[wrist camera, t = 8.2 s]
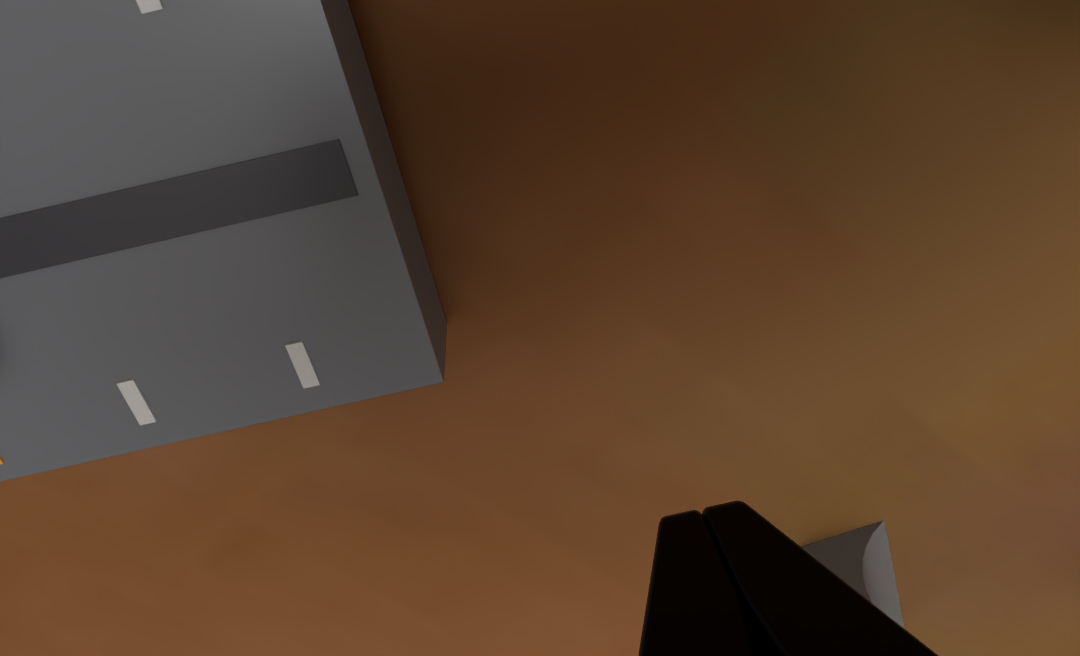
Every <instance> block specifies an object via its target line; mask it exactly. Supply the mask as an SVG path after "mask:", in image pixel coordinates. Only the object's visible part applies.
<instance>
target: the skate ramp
mask: <svg viewBox="0 0 1080 656" xmlns="http://www.w3.org/2000/svg"><path fill="white" fill-rule="evenodd" d="M801 548H803V549H804V550H805V551H806V552H808V553H809V554H810V555H812V556H813V557H814V558H815V559H817V560H818V561H819V562H820V563H822V564H823V565H824V566H825V567H827V568H828V569H829V570H831V571H832V572H833V573H834V574H836V575H837V576H838V577H839V578H841V579H842V580H843V581H844V582H846V583H847V584H848V585H849V586H851V587H852V588H853V589H855V590H856V591H857V592H858V593H860V594H861V595H862V596H863V597H865V598H866V599H867V600H868V601H870V602H871V603H872V604H874V605H875V606H876V607H877V608H879V609H880V610H881V611H882V612H884V613H885V614H886V615H887V616H889V617H890V618H891V619H892V620H894V621H895V622H896V623H898V624H899V625H900V626H901V627H903V628H904V625H903V619H902V614H901V608H900V603H899V597H898V592H897V586H896V581H895V575H894V570H893V564H892V559H891V553H890V548H889V542H888V537H887V531H886V526H885V520H884V521H881V522H878V523H875V524H872V525H868V526H865V527H862V528H859V529H856V530H853V531H849V532H846V533H843V534H840V535H837V536H834V537H830V538H827V539H824V540H821V541H818V542H815V543H811V544H808V545H805V546H802V547H801Z"/></svg>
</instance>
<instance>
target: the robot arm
mask: <svg viewBox="0 0 1080 656" xmlns="http://www.w3.org/2000/svg"><path fill="white" fill-rule="evenodd" d="M639 656H938V655H937V654H935V653H934V652H933V651H932V650H930V649H929V648H928V647H927V646H925V645H924V644H923V643H922V642H920V641H919V640H918V639H917V638H915V637H914V636H913V635H911V634H910V633H909V632H908V631H906V630H905V629H904V628H903V627H901V626H900V625H899V624H898V623H896V622H895V621H894V620H892V619H891V618H890V617H889V616H887V615H886V614H885V613H884V612H882V611H881V610H880V609H879V608H877V607H876V606H875V605H874V604H872V603H871V602H870V601H868V600H867V599H866V598H865V597H863V596H862V595H861V594H860V593H858V592H857V591H856V590H855V589H853V588H852V587H851V586H849V585H848V584H847V583H846V582H844V581H843V580H842V579H841V578H839V577H838V576H837V575H836V574H834V573H833V572H832V571H831V570H829V569H828V568H827V567H825V566H824V565H823V564H822V563H820V562H819V561H818V560H817V559H815V558H814V557H813V556H812V555H810V554H809V553H808V552H806V551H805V550H804V549H803V548H801V547H800V546H799V545H798V544H796V543H795V542H794V541H793V540H791V539H790V538H789V537H788V536H786V535H785V534H784V533H782V532H781V531H780V530H779V529H777V528H776V527H775V526H774V525H772V524H771V523H770V522H769V521H767V520H766V519H765V518H763V517H762V516H761V515H760V514H758V513H757V512H756V511H755V510H753V509H752V508H751V507H750V506H748V505H747V504H746V503H744V502H741V501H733V502H728V503H724V504H719V505H715V506H710V507H707V508H705V509H704V510H703V512H702V514H701V513H700V512H699V511H696V510H692V511H687V512H682V513H678V514H673V515H669V516H665V517H663V518H662V519H661V521H660V523H659V527H658V534H657V540H656V547H655V553H654V559H653V566H652V572H651V579H650V585H649V592H648V598H647V604H646V611H645V617H644V624H643V630H642V636H641V643H640V649H639Z"/></svg>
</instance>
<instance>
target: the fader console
mask: <svg viewBox="0 0 1080 656" xmlns="http://www.w3.org/2000/svg"><path fill="white" fill-rule="evenodd" d="M446 333H447V322H446V319H445V316H444V312H443V309H442V306H441V303H440V299H439V296H438V293H437V290H436V286H435V283H434V280H433V277H432V273H431V270H430V267H429V264H428V260H427V257H426V254H425V251H424V247H423V244H422V241H421V238H420V234H419V231H418V228H417V225H416V221H415V218H414V215H413V212H412V208H411V205H410V202H409V199H408V195H407V192H406V189H405V186H404V182H403V179H402V176H401V173H400V169H399V166H398V163H397V160H396V156H395V153H394V150H393V147H392V143H391V140H390V137H389V134H388V130H387V127H386V124H385V120H384V117H383V114H382V111H381V107H380V104H379V101H378V98H377V94H376V91H375V88H374V85H373V81H372V78H371V75H370V72H369V68H368V65H367V62H366V59H365V55H364V52H363V49H362V46H361V42H360V39H359V36H358V33H357V29H356V26H355V23H354V20H353V16H352V13H351V10H350V7H349V3H348V0H0V481H5V480H9V479H14V478H18V477H23V476H27V475H32V474H36V473H41V472H45V471H49V470H54V469H58V468H63V467H67V466H72V465H76V464H81V463H85V462H90V461H94V460H99V459H103V458H108V457H112V456H116V455H121V454H125V453H130V452H134V451H139V450H143V449H148V448H152V447H157V446H161V445H166V444H170V443H175V442H179V441H183V440H188V439H192V438H197V437H201V436H206V435H210V434H215V433H219V432H224V431H228V430H233V429H237V428H242V427H246V426H250V425H255V424H259V423H264V422H268V421H273V420H277V419H282V418H286V417H291V416H295V415H300V414H304V413H309V412H313V411H317V410H322V409H326V408H331V407H335V406H340V405H344V404H349V403H353V402H358V401H362V400H367V399H371V398H376V397H380V396H384V395H389V394H393V393H398V392H402V391H407V390H411V389H416V388H420V387H425V386H429V385H434V384H438V383H443V382H444V370H445V351H446Z"/></svg>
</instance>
